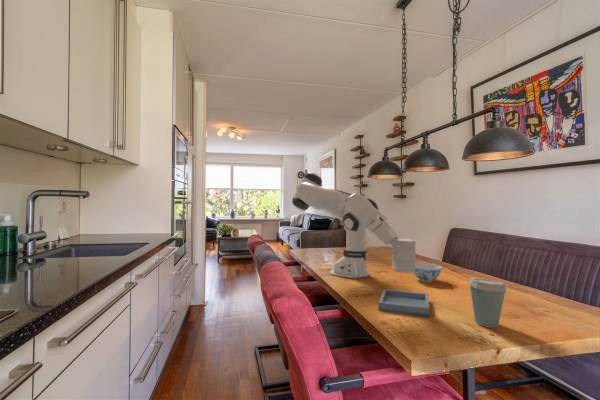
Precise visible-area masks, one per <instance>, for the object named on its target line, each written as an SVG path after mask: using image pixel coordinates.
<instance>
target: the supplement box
mask: <svg viewBox="0 0 600 400" xmlns="http://www.w3.org/2000/svg"><path fill="white" fill-rule="evenodd" d="M394 240H395V241H396V242H397V243H398V244H399V245H400V246H401V247H402V249H401V250H400V251H398V250H397V249H396V248H395V247H394V246H392V252H391V253H392V254H391V255H392V259H391V261H392V263H391V268H392V270H393V271H394V272H396V273H403V274H404V273H406V274H414V273H415V263H416V240H412V239H410V238H399V239H394Z"/></svg>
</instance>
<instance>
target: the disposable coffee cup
mask: <svg viewBox="0 0 600 400" xmlns="http://www.w3.org/2000/svg"><path fill="white" fill-rule="evenodd" d="M468 285H469V290H470V295H471V302H472V303H471V304H472V309H473V316H474V320H475V323H476V324H478V325H479V326H482V327H485V328H492V329H493V328H497V327H498V326H499V324H500V319H501V315H502V309H503V304H504V299H505V294H506V291H507V287H506V286H505V283H503V282H501V281H498V280H494V279H487V278H482V277H481V278H480V277H479V278H477V277H475V278H471V279H470V280H469V282H468Z"/></svg>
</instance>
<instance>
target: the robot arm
mask: <svg viewBox="0 0 600 400" xmlns="http://www.w3.org/2000/svg"><path fill="white" fill-rule="evenodd" d="M322 180H323V179H322V178H321V176H319V175H318V173H315V172H311V171H310V172H306V173H305V174H304V176H303V178H302V180H301V181H300V183H299V184H298V186H297V188H296V191H295V193H294V195H293V198H292V201H291V203H292V205H293V206H294V207H295V208H296V209H298V210H299V211H307V210H309V208H310V207H311V208H313V209H315V210H319V211H324V212H326V213H328V214H329V215H332V216H333V217H335V218H337V219H340V220H342V223H343V226H344V227H345V228H346V237H345V238H346V248H345V249H343V251H342V254H343V256H342V257H340V258H339V259H337V260H336V261H335V262H334V264H333V268H332V269H331V270H330V271H329V274H330V275H332V276H338V277H342V278H343V277H344V278H350V279H357V278H364V277H365V278H366V277H368V276H369V275H370V273H369V270H368V264H367V259H368V251H367V246H366V245H367V244H366V243H367V241H366V240H367V237H366V236H367V231H368V232H369V233H371V234H373V235H374V236H376V238H378V240H380V241H381V242H382V243H384V244H385V245H389V244H390V245H391V246H392V247H393V246H394V247H395V248H396V249H397V250H398V251H400V250H401V249H402V247H401V246H400V245H399V244H398V243H397V242H396V241H395V240H394V239H400V238H399V236H397V235H398V233H397V231H396V230H395V229H394V228H392V227H391V226H390V225H389V224H388V222H387V221H386V220H387V217H386V215H384V214H383V213H382V212H381V211H380V210H379V207H378V204H377V202H375V201H374V200H373V199H371V198H369V197H365V196H364V195H362V194H361V193H359V192H354V193H352V194H351V193H349V192H346V191H343V190H339V189H328V188H324V187H323V184H322V183H323V181H322Z"/></svg>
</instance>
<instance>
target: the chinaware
mask: <svg viewBox="0 0 600 400" xmlns="http://www.w3.org/2000/svg"><path fill="white" fill-rule="evenodd" d="M442 268H443V267H442V266H441V265H438V264H434V263H426V262H425V263H424V262H420V263H419V262H415V273H413V275H414V276H415V277H417V278H418V279H419V281H420V282H421V283H422V282H423V283H433V282H434V280H436V279H438V277H439V276H440V275H441V273H442V270H443V269H442Z"/></svg>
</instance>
